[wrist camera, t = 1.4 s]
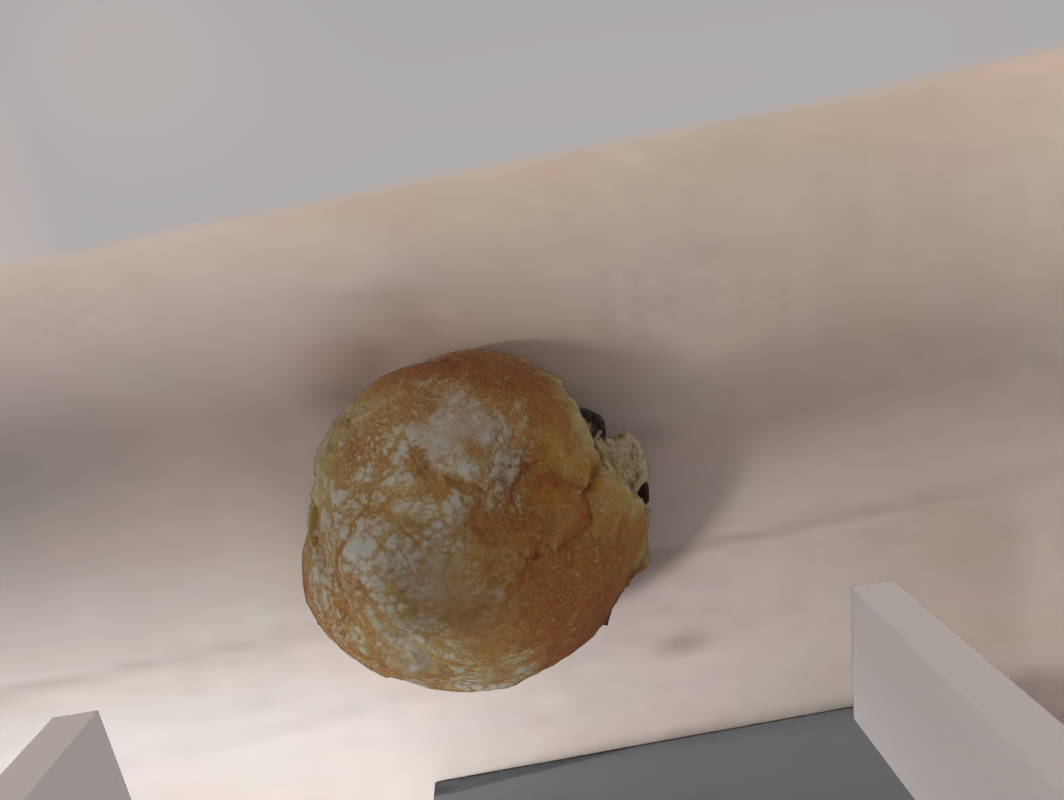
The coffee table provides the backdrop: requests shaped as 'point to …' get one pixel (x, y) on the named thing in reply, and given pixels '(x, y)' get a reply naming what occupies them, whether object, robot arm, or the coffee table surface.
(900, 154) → the coffee table surface
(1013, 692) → the robot arm
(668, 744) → the grey tray
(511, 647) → the bread roll
